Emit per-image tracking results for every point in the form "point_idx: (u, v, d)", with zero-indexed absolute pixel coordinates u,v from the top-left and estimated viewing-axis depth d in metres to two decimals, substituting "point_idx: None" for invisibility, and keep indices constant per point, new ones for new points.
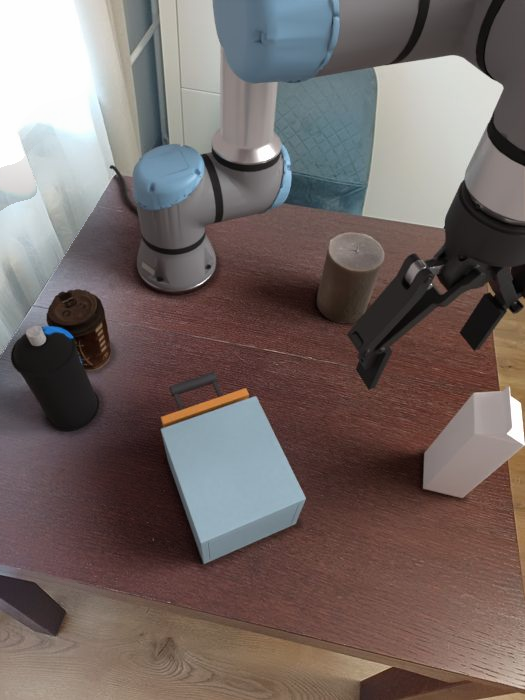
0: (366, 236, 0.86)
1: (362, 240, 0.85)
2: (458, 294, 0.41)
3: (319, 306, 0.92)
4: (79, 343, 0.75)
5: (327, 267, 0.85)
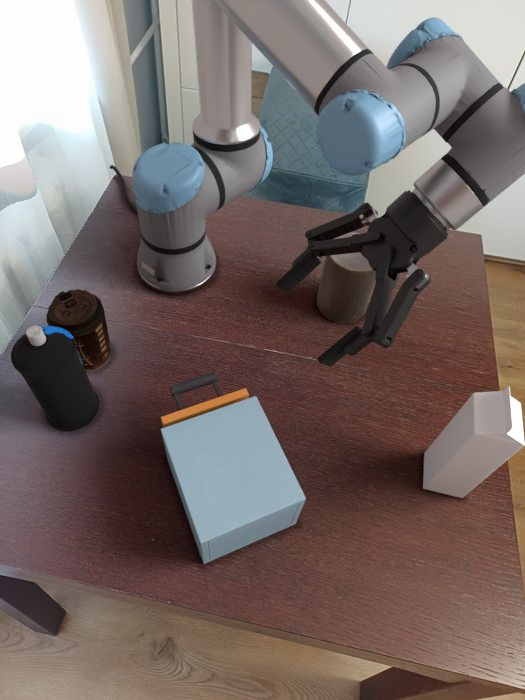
0: None
1: None
2: (392, 274, 0.62)
3: (319, 306, 0.92)
4: (79, 343, 0.75)
5: (327, 267, 0.85)
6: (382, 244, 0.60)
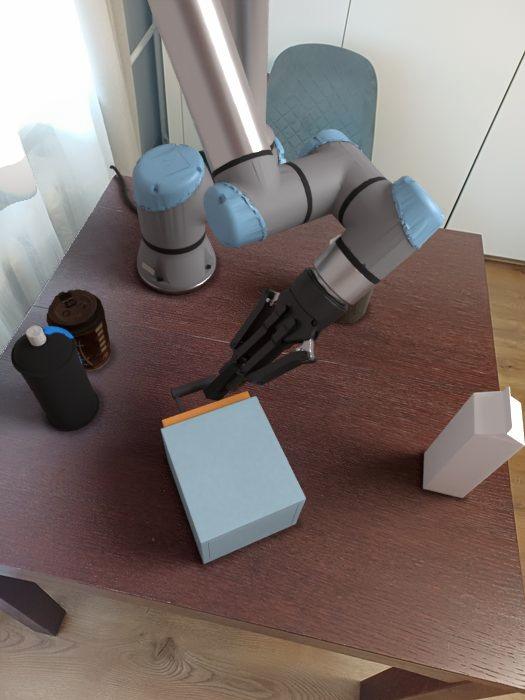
0: None
1: None
2: None
3: None
4: (79, 343, 0.75)
5: None
6: (292, 311, 0.64)
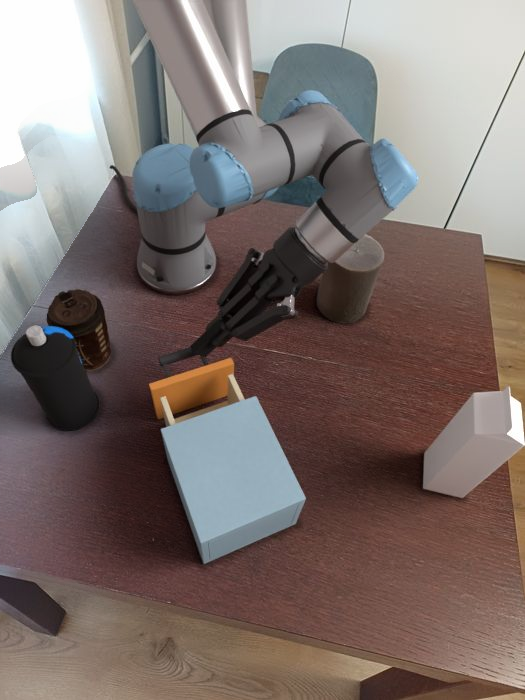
0: (366, 236, 0.86)
1: (362, 240, 0.85)
2: None
3: (319, 306, 0.92)
4: (79, 343, 0.75)
5: (327, 267, 0.85)
6: (275, 269, 0.68)
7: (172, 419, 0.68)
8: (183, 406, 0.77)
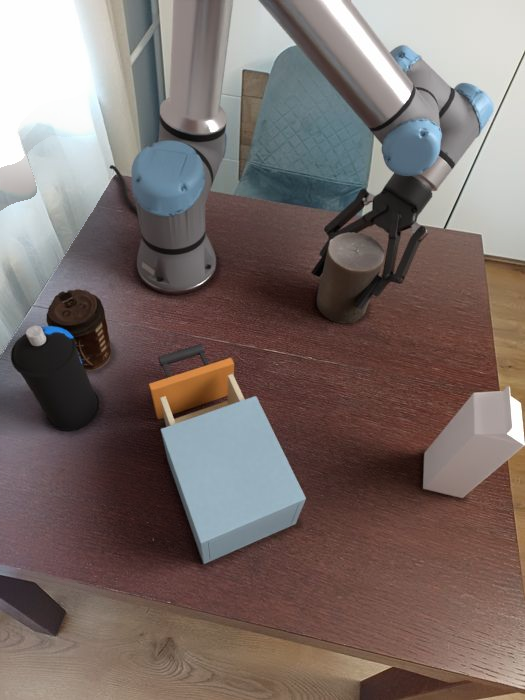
0: (366, 236, 0.86)
1: (362, 240, 0.85)
2: None
3: (319, 306, 0.92)
4: (79, 343, 0.75)
5: (327, 267, 0.85)
6: (389, 211, 0.83)
7: (172, 419, 0.68)
8: (183, 406, 0.77)
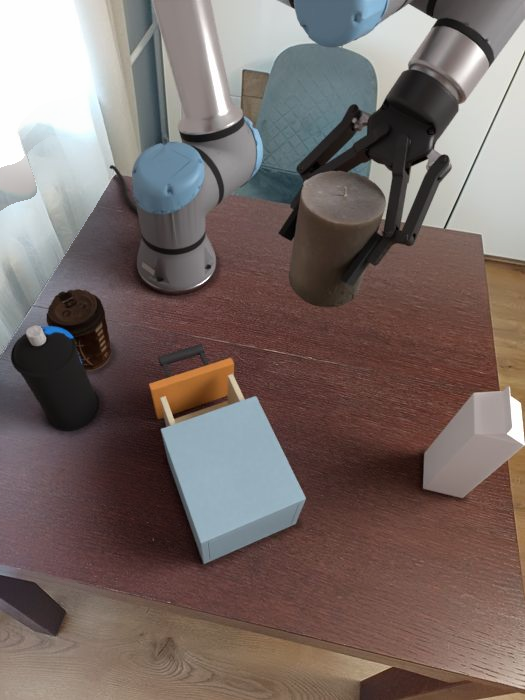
0: (359, 176, 0.57)
1: (353, 181, 0.57)
2: None
3: (292, 283, 0.64)
4: (79, 343, 0.75)
5: (301, 222, 0.56)
6: (393, 135, 0.55)
7: (172, 419, 0.68)
8: (183, 406, 0.77)
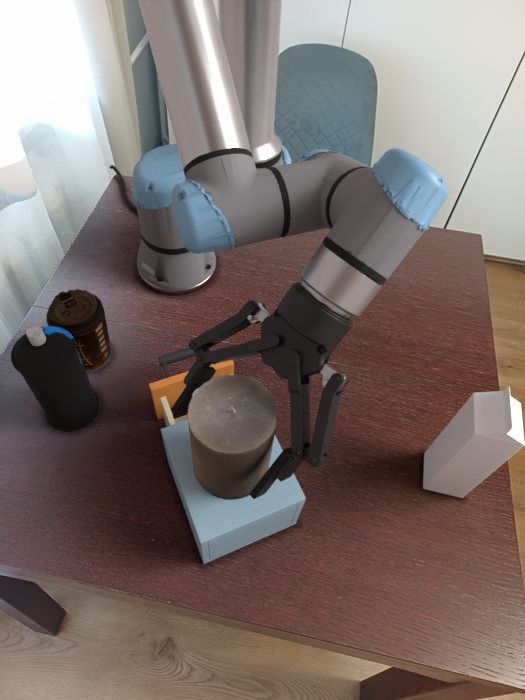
0: (254, 381, 0.55)
1: (246, 390, 0.54)
2: None
3: (194, 472, 0.61)
4: (79, 343, 0.75)
5: (190, 434, 0.53)
6: (284, 348, 0.52)
7: (172, 419, 0.68)
8: None
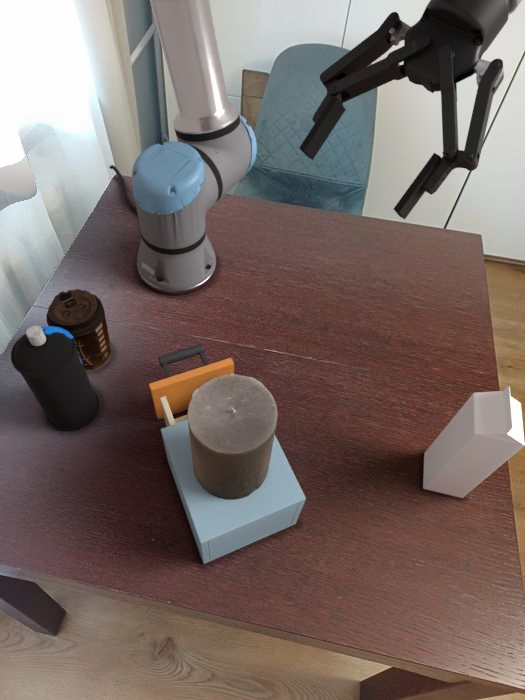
0: (254, 382, 0.55)
1: (246, 390, 0.54)
2: None
3: (194, 472, 0.61)
4: (79, 343, 0.75)
5: None
6: (433, 51, 0.50)
7: (172, 419, 0.68)
8: (183, 406, 0.77)
